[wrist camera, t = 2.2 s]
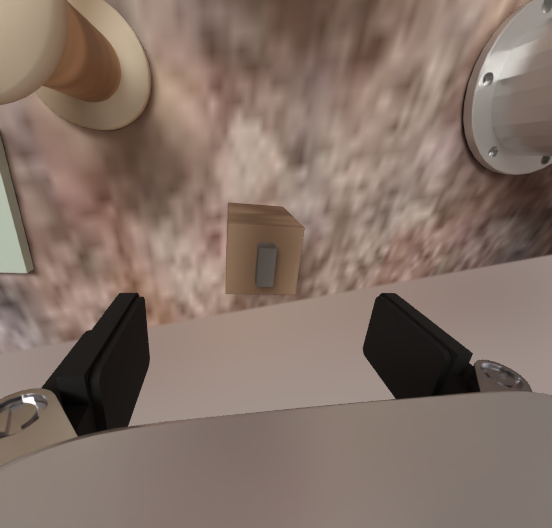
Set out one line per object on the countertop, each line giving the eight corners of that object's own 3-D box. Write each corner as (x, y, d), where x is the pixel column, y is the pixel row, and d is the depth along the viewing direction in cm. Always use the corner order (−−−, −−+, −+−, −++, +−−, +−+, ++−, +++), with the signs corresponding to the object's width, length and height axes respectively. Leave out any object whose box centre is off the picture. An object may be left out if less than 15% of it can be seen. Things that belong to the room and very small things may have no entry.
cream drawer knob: (147, 10, 16) (14, -226, 6) (154, 136, 19) (69, 115, 9) (13, -17, 15) (-433, -370, 5) (40, 123, 17) (-213, 81, 7)
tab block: (282, 206, 22) (309, 232, 15) (277, 257, 24) (298, 302, 17) (228, 202, 21) (228, 227, 14) (226, 255, 23) (225, 302, 16)
